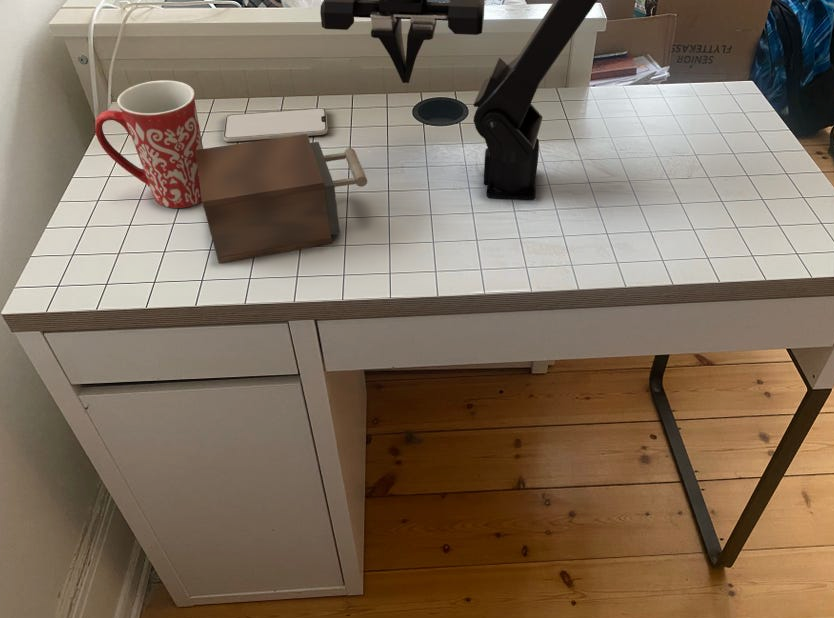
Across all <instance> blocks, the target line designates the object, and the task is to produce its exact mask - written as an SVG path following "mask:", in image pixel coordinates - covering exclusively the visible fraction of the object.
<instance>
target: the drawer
mask: <svg viewBox="0 0 834 618" xmlns="http://www.w3.org/2000/svg"><path fill="white" fill-rule="evenodd" d="M310 143H311V146H312V149H313V152H314V155H315V158H316V161H317V164H318V166H319V169H320V172H321V175H322V178H323V181H324V185H325V193H326V201H327V209H328V216H329V224H330V232H331V235H335V234H341V230H340V222H339V221H340V220H339V213H338V206H337V205H338V204H337V197H336V188H339V187H344V186H345V187H346V186H350V185H351V186H352V185H356V186H357V187H359V188H363V187H365V186H366V185H367V184H368V178H367V176H366V174H365V171H364V169H363V167H362V164H361V162H360V160H359V157H358V155H357V153H356V150H355V148H352V147H348V148H346V149H345V150H344V152H338V153H333V154H326V155H325V154H324V153H323V150H322V147H321V144H320V142H319V141H312V142H310ZM340 160H346V163H347V165H348V168H349V170H350V173H351V175H352V177H348V178H347V177H346V178H342V179H335V180H334V179H333V178H332V174H331V172H330V170H329V167H328V162H333V161H340Z"/></svg>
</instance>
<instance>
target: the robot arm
mask: <svg viewBox="0 0 834 618" xmlns="http://www.w3.org/2000/svg"><path fill="white" fill-rule="evenodd" d="M597 1H598V0H553V2H552V4H551V5H550V6H549V8H548V10H546V13H545V15H544V16H543V17H542V19H541V21H540V22H539V24H538V25H537V27H536V28H535V30H534V31H533V33H532V34H531V36H530V37H529V38H528V41H527V42H526V44H525V45H524V47H523V48H522V50H521V51H520V53H519V54H518V55H517V56H516V57H515V58H514V59H513V60H512V61H510V62H509V63H508V64H507V63H506V61H504V60H503V59H502V58H501V57H499V58H498V59H497V61H496V63H495V66H494V68H493V71H492V73H491V74H490V75H489V77H488V78H485V80H483V82H482V83H481V87H480V89H479V91H478V93H477V96H476V98H475V100H474V102H473V107H474V108H476V110H475V112H474V115H473V124H474V127H475V130H476V132H477V133H478V135H479V136H480V137H482V138H483V139H484V142H485V144H486V147H487V148H485V149H484V150H485V151H484V163H483V164H484V165H483V186H485V187H486V193H485V194H486V196H487V197H488V198H495V199H496V198H500V199H517V200H535V199H536V197H537V173H538V164H539V153H540V139H539V138H538V136H539V135H538V134H539V133H540V128H541V125H542V121H543V118H544V117H543V116H542V115H541V114H540V112H539V111H538V110H537V108H536V107H534V105H533V104H532V102H533V100H534V97H535V95H536V93H537V90H538V87H539V85H540V84H541V82H542V80H543V79H544V78H545V76H546V75H547V73H548V72H549V71H550V70H551V68H552V66H553V65H554V63H555V62H556V61H557V60H558V57H559V56H560V55H561V53H562V52H563V50H565V48H566V46H567V45H568V43H569V42H570V40H571V39H572V38H573V37H574V35H575V33H576V32H577V30H578V29H579V27H581V25H582V24H583V22H584V21H585V19H586V17H587V16H588V15H589V13H590V11H591V10H592V9H593V8H594V6H595V4H596V3H597ZM485 3H486V2H485V0H449V2H443V1H429V0H323V1H322V3H321V4H320V12H319V14H320V22H321V27H322V28H323V29H325V30H340V31H341V30H342V31H348V30H349V28H351V27H352V26H353V24H354V23H355V18H365V19H370V20H371V30H370V36H371V38H373V39H379V41H380V42H381V44H382V46H383V47H384V49H385V50H386V52H387V53H388V56H389V57H390V60H391V61H392V64H393V65H394V67H395V70H396V72H397V74H398V76H399V78H400V80H401V83H402V84H410V81H411V79H412V78H411V77H412V73H413V70H414V67H415V62H416V60H417V57H418V54H419V51H420V49H421V48H422V45H423V44H424V41H431V40H433V39H434V35H435V31H436V26H437V22H438V21H440V22H441V21H442V22H443V21H444V22H445V21H446V22H447V28H448V29H449V30H450V31H451V32H452V33H453V34H454V35H467V36H469V35H470V36H478V35H481V34H483V27H484V20H485ZM402 20H409V23H410V26H409V28H408V32H407V38H406V52H405V46H404V45H405V44H404V39H403V30H402V29H403V28H402V25H403V24H402Z"/></svg>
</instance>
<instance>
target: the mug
mask: <svg viewBox="0 0 834 618" xmlns="http://www.w3.org/2000/svg"><path fill="white" fill-rule="evenodd" d="M195 99H196V92H195V90H194V88H193V87H192V86H191V85H189V84H187V83H185V82H182V81H177V80H169V79H168V80H167V79H163V80H152V81H146V82H142V83H139V84H135V85H132V86H130V87H128V88H127V89H125V90H124V91H122V92H121V93H120V94H119V96H118V97H117V100H116V102H117V103H116V104H117V106H118V108H119V109H120V110H121V111H119V110H105V111H103V112H101V113H99V114H98V116H97V117H96V119H95V122H94V132H95V136H96V139H97V141H98V143H99V145H100V147H101V148H102V150H103V151H104V152H105V153H106V154H107V155H108V157H110V158H111V159H112V160H113V161H114V162H115V163H116V164H118V165H119V166H120V167H121V168H123V169H124V170H125V171H126V172H128V173H129V174H131V175H132V176H133V177H135V178H137V180H139V181H141V182H142V183H144V184H146V185H147V186H148V187H149V188H150V191H151V194H152V196H153V200H154V201H155V202H156V203H157V204H158V205H160V206H163V207H166V208H172V209H183V208H188V207H192V206H195V205H197V204H199V203H202V197H201V190H200V182H199V175H198V167H197V160H196V152H195V150H199V149H204V145H203V139H202V133H201V127H200V124H199V123H200V122H199V118H198V117H199V116H198V112H197V107H196V106H197V105H196V101H195ZM107 121H108V122H109V121H114V122H116V123H118V124H120V125H121V126H122V127H123V128H124V129H125V131H126V132H127V134H128V135H129V136H131V139H132V142H133V145H134V147H135V150H136V152H137V155H138V158H139V161H140V164H141V166H142V168H140V167H138V166H137V165H135V164H134V163H132V162H131V161H130V160H128V159H127V158H126V157H125V156H124V155H122V154H121V153H120V152H119V151H117V150H116V149H115V148H114V147H113V146H112V144H111V143H110V142H109V140H108V139H107V137H106V135H105V133H104V130H103V125H104V123H106V122H107Z"/></svg>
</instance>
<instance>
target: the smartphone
mask: <svg viewBox="0 0 834 618" xmlns="http://www.w3.org/2000/svg"><path fill="white" fill-rule="evenodd" d="M328 130H329V129H328V116H327V109H326V108H324V107H315V108H302V109H300V108H299V109H288V110H287V109H286V110H274V111H261V112H259V111H258V112H249V113H246V112H245V113H233V114H228V115H227V116H225V119H224V127H223V134H222V135H223V136H222V137H223V140H224V141H225V142H226V143H227V142H228V143H230V142H232V143H233V142H245V141H260V140H269V139H276V138H283V137H290V136H297V135H304V134H307V135H308V137H309V136H322V135H325V134H327V133H328Z"/></svg>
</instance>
